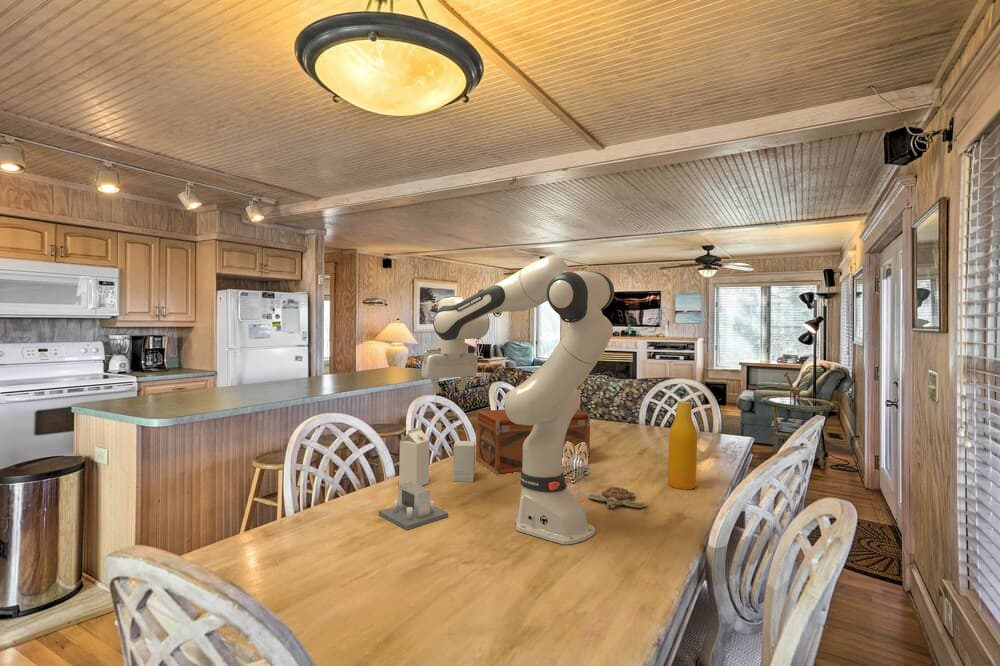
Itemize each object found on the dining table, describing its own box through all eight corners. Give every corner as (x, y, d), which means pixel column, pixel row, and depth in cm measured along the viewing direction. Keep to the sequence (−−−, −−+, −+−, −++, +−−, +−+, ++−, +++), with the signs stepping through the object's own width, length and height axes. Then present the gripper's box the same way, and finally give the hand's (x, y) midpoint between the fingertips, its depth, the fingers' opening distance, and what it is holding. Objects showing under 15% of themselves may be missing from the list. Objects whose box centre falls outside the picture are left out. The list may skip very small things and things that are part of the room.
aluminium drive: (429, 514, 143) (430, 490, 143) (417, 518, 141) (418, 493, 140) (409, 505, 151) (409, 481, 150) (397, 508, 148) (398, 484, 148)
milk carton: (398, 485, 172) (399, 429, 171) (412, 479, 178) (412, 425, 178) (416, 489, 168) (416, 431, 168) (428, 483, 175) (429, 427, 174)
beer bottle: (691, 482, 182) (694, 400, 181) (699, 490, 172) (701, 405, 172) (664, 480, 182) (667, 399, 182) (670, 489, 173) (673, 404, 173)
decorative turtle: (580, 506, 157) (580, 490, 157) (596, 490, 172) (596, 475, 172) (639, 517, 149) (640, 500, 148) (651, 500, 163) (652, 485, 163)
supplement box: (473, 482, 177) (474, 445, 177) (452, 481, 177) (452, 445, 177) (475, 475, 184) (475, 440, 184) (454, 475, 184) (455, 440, 184)
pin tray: (448, 516, 145) (448, 502, 145) (406, 530, 136) (406, 514, 136) (419, 503, 155) (419, 489, 155) (378, 515, 146) (379, 500, 146)
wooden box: (474, 461, 204) (475, 411, 203) (562, 452, 220) (563, 405, 220) (495, 475, 185) (496, 420, 185) (589, 464, 202) (591, 414, 201)
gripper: (429, 349, 152) (428, 395, 153) (480, 347, 167) (480, 390, 167) (417, 348, 157) (416, 393, 157) (468, 346, 171) (467, 388, 172)
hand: (449, 391), depth 162 cm, fingers open, 8 cm apart
